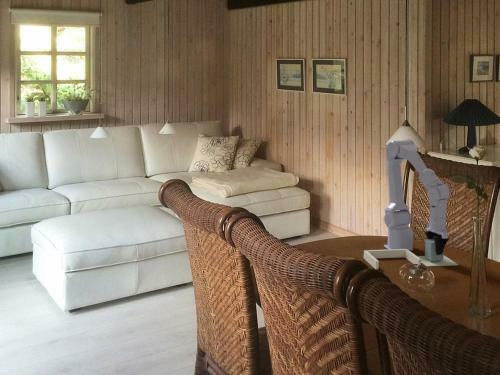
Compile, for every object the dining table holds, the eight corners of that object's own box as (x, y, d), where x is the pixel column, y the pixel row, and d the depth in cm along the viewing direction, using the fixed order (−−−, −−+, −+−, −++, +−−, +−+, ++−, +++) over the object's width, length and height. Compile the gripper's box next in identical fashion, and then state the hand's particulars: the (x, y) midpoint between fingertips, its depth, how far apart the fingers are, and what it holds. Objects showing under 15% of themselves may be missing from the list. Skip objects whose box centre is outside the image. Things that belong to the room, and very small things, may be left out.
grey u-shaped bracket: (406, 256, 234) (406, 248, 233) (420, 267, 220) (421, 259, 220) (363, 258, 232) (363, 250, 231) (375, 269, 218) (376, 261, 218)
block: (437, 256, 230) (437, 238, 229) (443, 260, 225) (443, 241, 224) (425, 257, 230) (425, 239, 228) (430, 261, 225) (430, 243, 224)
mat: (443, 255, 234) (443, 255, 234) (458, 265, 223) (458, 264, 223) (413, 257, 233) (413, 256, 233) (426, 266, 221) (426, 265, 221)
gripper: (419, 213, 231) (417, 247, 234) (435, 221, 217) (434, 258, 220) (437, 212, 232) (435, 246, 235) (454, 221, 218) (452, 257, 220)
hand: (435, 252), depth 227 cm, fingers closed on block, 5 cm apart
